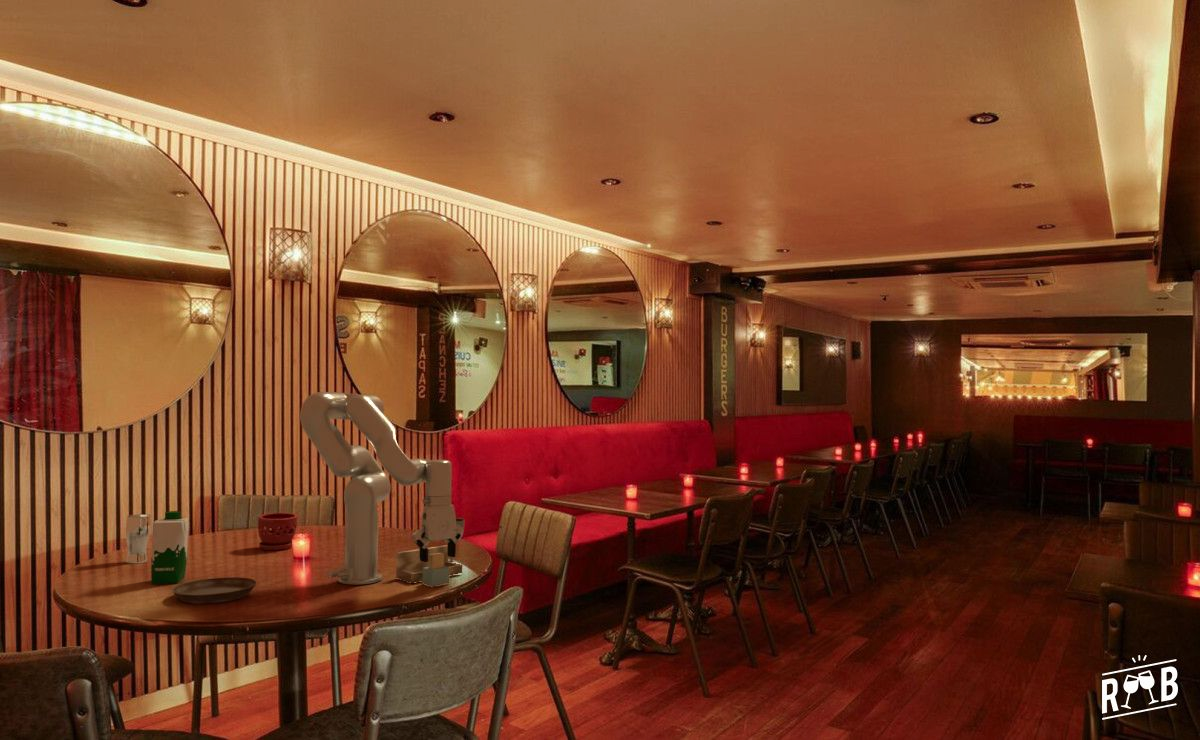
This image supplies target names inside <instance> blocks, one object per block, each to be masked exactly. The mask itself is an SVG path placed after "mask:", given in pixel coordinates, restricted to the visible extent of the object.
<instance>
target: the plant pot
mask: <svg viewBox="0 0 1200 740" xmlns="http://www.w3.org/2000/svg"><path fill="white" fill-rule="evenodd" d="M297 526H298V515H297V514H295V513H289V512H272V513H271V512H270V513H264V514H260V515H259V516H258V518H257V530H258V531H257V532H258V535H259V536H258V537H259V539H260V540H261V541H260V542H259V543H258V545H259V547H260V548H261V549H263V550H265V551H282V549H283V550H288V549H291V548H292V541H293V539H294V537H295V534H296V531H297ZM292 538H293V539H292Z"/></svg>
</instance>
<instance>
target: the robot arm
mask: <svg viewBox="0 0 1200 740" xmlns="http://www.w3.org/2000/svg"><path fill="white" fill-rule="evenodd" d="M301 405H302V406H301V408H300V412H299V418H300V419H299V420H300V424H301V427H302V430H303V431H304V433H305V434H306V436H307V437H308V439H309V440H310V441H311V443H312V444H313V446H314V447H315V449H316V450H317V452H318V453H319V455H320V457H321V458H322V459H323V460H324V462H325V464H326V465H327V466H328V468H329V470H330V471H331V473H332V474H333V475H335V477H338V478H350V477H351V479H350V480H349V481H348V482H347V484H346V485H345V488H344V491H343V499H344V500H343V501H344V507H345V508H344V509H345V538H344V539H345V540H344V541H345V542H344V565H341V566H340V568H339V569H338V570H329V571H328V578H330V579H332V578H338V582H339V583H341V584H344V585H353V586H356V585H357V586H358V585H371V584H374V583H379V582H380V581H381V580H383V575H382V574H381V573H379V572H378V559H379V558H378V551H379V549H378V548H379V526H380V525H379V521H380V520H379V510H378V506H377V504H379V503H382V502H384V501H385V500H386V499H388V496H389V495H390V493H391V488H392V487H391V482H390V480H389V478H388V476H387V475H386V474H387V473H388V474H389V475H390V477H391V478H392V479H393V480H394V481H395V482H396V483H398V484H399V485H401V486H403V487H411V486H413V485H418V484H421V483H422V484H423V483H425V496H424V497H425V498H423V499H422V500H421V501H422V504H425V506H423V510H422V515H421V522H420V523H421V524H420V528H419V529H417V530H415V532H413V533H412V534H411V537H412V539H413V541H414V544H416V546H417V547H418V549H420V561H423V562H427V561H428V548H429V547H428V545H429V544H430V542H438V541H439V542H440V541H445V540H446V539H448V541H449V543H448V544H447V545H448V548H447V555H448V557H453V558H456V552H457V551H456V549H457V543H458V542H459V541H458V539H459V538H460V536H461V533H462V530H463V527H461V526H459V525H457V524H456V518H457V517H456V510H455V506H454V504H452V462H451V461H450V460H448V459H425V458H411V459H410V458H409V457H408V456H407V455H406V454H405V453H404V451H403V450H402V449H401V447H400V446H399V444H398V442H397V438H396V437H397V429H396V426H395V425H394V424H393V423H392V422H391V421H390V420H389V418H388V417H387V416H386V415H385V413H384V411H385V405H384V402H383V401H382V400H381V399H380V398H379V397H378V396H376V395H373V394H358V393H348V392H335V391H318V392H314V393H312V394H310V395H309V396H307V397H306V399H304V400H303V403H302V404H301ZM331 420H348V421H351V422H352V423H353V424H354V426H356V428H357V429H358V430H359V431H360V432H361V433H362V434H363V436H364V438H365V437H366V439H367V441H368V442H369V443H370V444H371V445H372V447H373V450H374V452H375V455H376V457H377V459H378V461H379V463H380V464H379V463H378V461H377V460H376V458H375V457H374V455H373V454H372V453H371V452H370V451H369V450H368V449H367V448H365V447H364V446H363V445H355V444H354V445H353V444H352V445H351V444H350V443H349V442H348V440H347V439H346V438H345V437H344V435H343V434H342V432H341V430H339V428H338V427H337V426H336V425H335V424H334V423H333V422H332V421H331ZM380 465H381V466H382V467H383V468H384V470H385V471H386V472H387V473H385V471H384V470H383V469H382V467H381V466H380ZM420 538H421V539H420ZM460 539H461V538H460ZM460 539H459V540H460Z"/></svg>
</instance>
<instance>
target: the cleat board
mask: <svg viewBox="0 0 1200 740" xmlns="http://www.w3.org/2000/svg"><path fill="white" fill-rule="evenodd" d="M427 548H428V561H427V562H423V561H420V548H418V549H412V550H404V551H398V552H396V567H395V568H396V571H395V572H396V573H395V574H396V576H395V579H396V578H399V579H401V580H400V581H402V580H405V581H408V582H411V583H414V582H419V581H422V580H423V568H424V567H429V554H435V553H443V554H444V566H446V567H449V575H453V574H458V573H462V574H463V564H462V565H460V564H456V563H452V562H449V561H450V560H449V556H448V555H447V548H448V544H444V545H438V546H431V547H427ZM405 581H404V582H405ZM408 582H407V583H408ZM411 583H410V584H411Z"/></svg>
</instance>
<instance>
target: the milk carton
mask: <svg viewBox="0 0 1200 740" xmlns="http://www.w3.org/2000/svg"><path fill="white" fill-rule="evenodd" d="M164 515H165V516H164V518H159V519H156V520H155V521H153V522H152V540H151V556H150V557H151V558H150V559H151V560H150V561H151V562H150V563H151V564H150V567H151V568H150V569H151V573H150V574H151V575H150V579H151V580H150V582H151V585H167V584H170V585H171V584H173V585H174V584H179V583H180V582H181V581H183V580H184V579H185V576H186V569H187V562H188V561H187V559H188V541H189V540H188V539H189V537H188V536H189V517H182V516H181V515H182V512H181V511H178V510H173V511H172V510H169V511H166V512H165V513H164Z"/></svg>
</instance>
